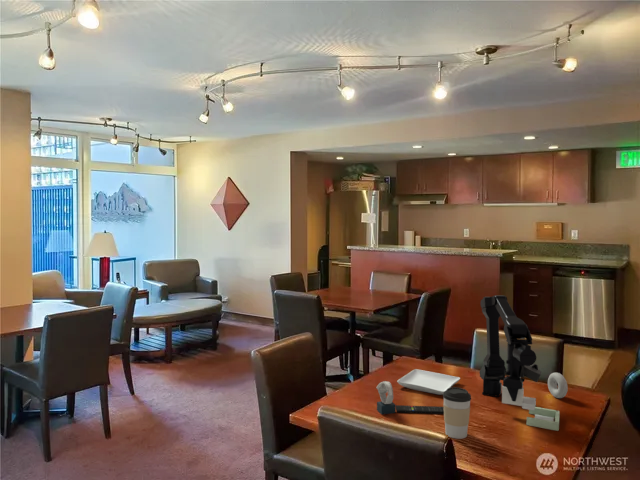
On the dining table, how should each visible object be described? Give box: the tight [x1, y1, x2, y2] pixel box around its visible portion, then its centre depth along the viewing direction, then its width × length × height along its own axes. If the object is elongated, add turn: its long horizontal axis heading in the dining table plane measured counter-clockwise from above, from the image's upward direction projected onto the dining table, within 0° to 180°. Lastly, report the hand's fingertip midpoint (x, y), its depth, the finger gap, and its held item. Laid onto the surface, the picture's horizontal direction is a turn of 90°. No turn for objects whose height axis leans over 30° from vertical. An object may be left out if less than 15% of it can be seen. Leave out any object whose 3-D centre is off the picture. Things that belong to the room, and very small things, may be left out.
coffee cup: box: [442, 386, 472, 440], centre depth 162 cm, size 9×9×15 cm
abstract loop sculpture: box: [376, 380, 397, 415], centre depth 181 cm, size 6×8×11 cm
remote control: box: [395, 404, 444, 415], centre depth 181 cm, size 5×24×1 cm, turn 87°
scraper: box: [501, 385, 537, 411], centre depth 176 cm, size 11×7×6 cm, turn 63°
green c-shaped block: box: [526, 406, 560, 432], centre depth 173 cm, size 10×12×2 cm
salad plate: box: [396, 368, 461, 396], centre depth 209 cm, size 21×21×3 cm
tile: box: [534, 414, 555, 421], centre depth 173 cm, size 6×6×2 cm
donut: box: [547, 372, 569, 399], centre depth 196 cm, size 10×4×10 cm, turn 10°
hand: (514, 399), depth 177 cm, fingers closed on scraper, 2 cm apart
